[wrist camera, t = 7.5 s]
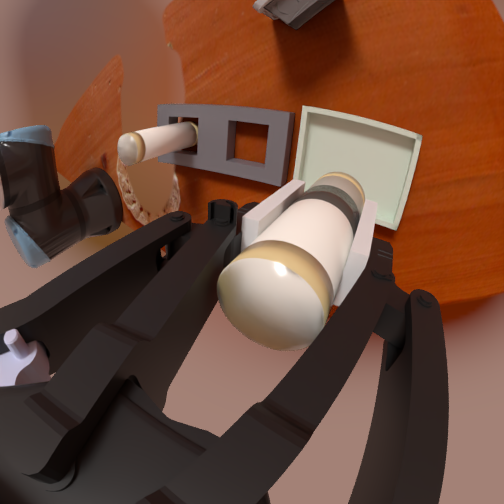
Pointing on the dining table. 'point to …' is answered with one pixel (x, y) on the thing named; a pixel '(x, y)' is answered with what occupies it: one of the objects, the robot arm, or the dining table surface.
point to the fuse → (156, 141)
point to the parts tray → (359, 157)
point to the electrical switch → (291, 10)
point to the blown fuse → (294, 267)
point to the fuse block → (232, 140)
